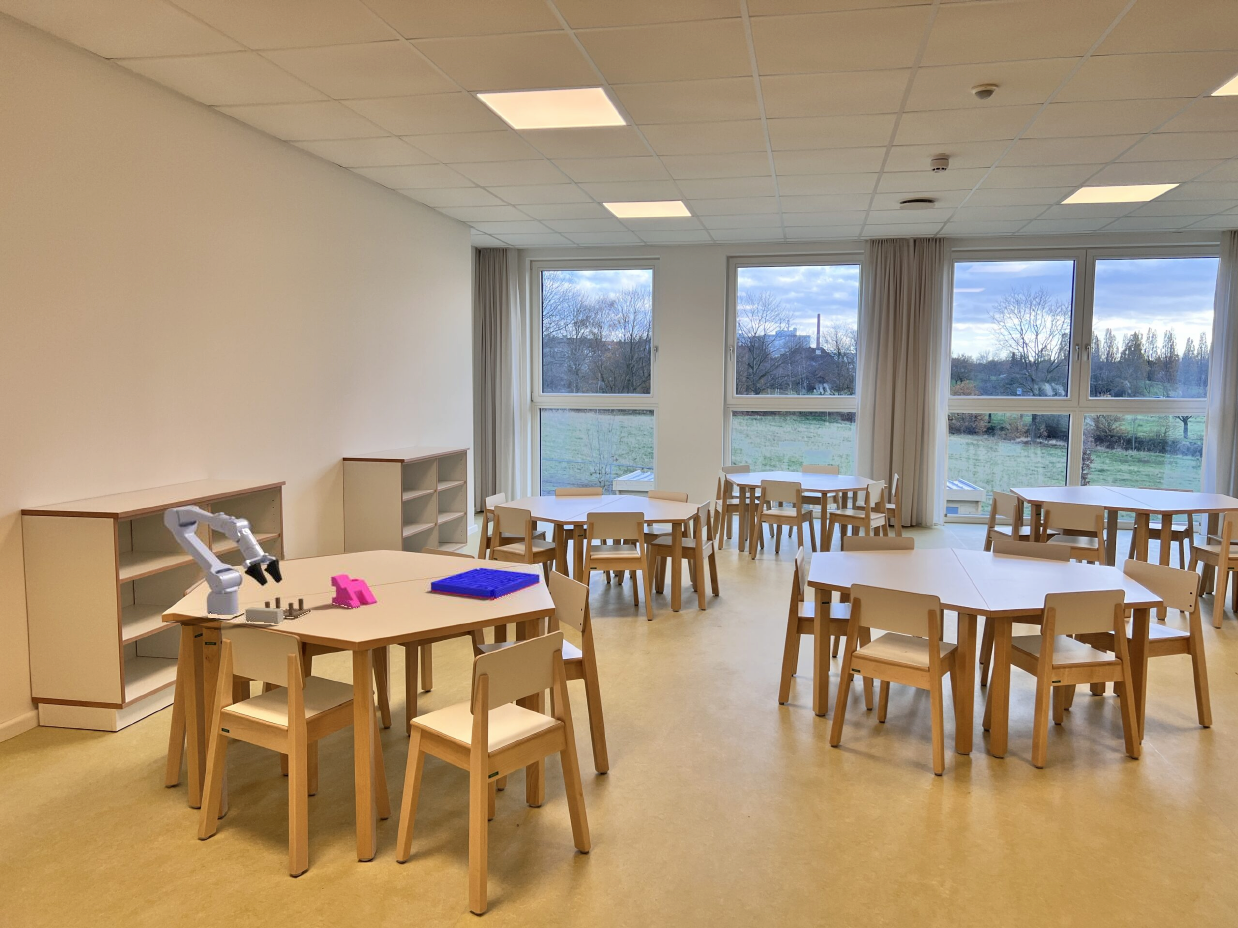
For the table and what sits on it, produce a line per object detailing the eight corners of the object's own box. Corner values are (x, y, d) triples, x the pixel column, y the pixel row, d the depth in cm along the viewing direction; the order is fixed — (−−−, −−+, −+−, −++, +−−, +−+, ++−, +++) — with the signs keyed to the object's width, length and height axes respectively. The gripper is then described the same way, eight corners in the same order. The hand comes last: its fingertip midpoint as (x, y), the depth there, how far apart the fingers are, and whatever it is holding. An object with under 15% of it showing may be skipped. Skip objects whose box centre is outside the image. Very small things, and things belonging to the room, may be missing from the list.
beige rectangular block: (246, 624, 275) (245, 609, 274) (251, 621, 278) (251, 607, 277) (278, 626, 272) (277, 611, 272) (283, 623, 275) (283, 608, 275)
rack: (258, 616, 283) (257, 602, 282) (274, 610, 292) (274, 596, 291) (295, 618, 280) (294, 604, 279) (310, 612, 289) (309, 597, 288)
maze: (431, 592, 318) (430, 582, 318) (479, 576, 344) (478, 567, 344) (494, 601, 304) (494, 590, 304) (539, 584, 330) (539, 574, 330)
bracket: (332, 604, 299) (331, 576, 299) (356, 598, 308) (354, 571, 307) (353, 609, 293) (352, 580, 292) (376, 603, 301) (375, 575, 300)
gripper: (244, 544, 270) (266, 578, 267) (273, 541, 284) (294, 573, 281) (229, 557, 271) (251, 590, 269) (259, 553, 285) (280, 585, 283)
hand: (272, 582), depth 275 cm, fingers open, 7 cm apart
